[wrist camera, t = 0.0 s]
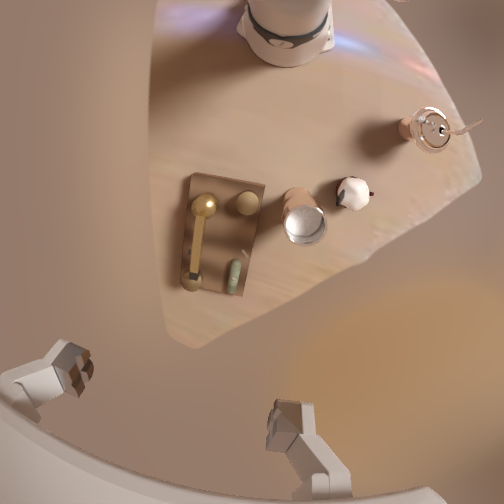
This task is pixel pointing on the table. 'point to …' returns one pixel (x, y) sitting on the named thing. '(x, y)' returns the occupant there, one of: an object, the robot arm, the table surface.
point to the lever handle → (201, 228)
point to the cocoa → (352, 193)
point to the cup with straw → (430, 129)
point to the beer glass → (303, 217)
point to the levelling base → (223, 233)
